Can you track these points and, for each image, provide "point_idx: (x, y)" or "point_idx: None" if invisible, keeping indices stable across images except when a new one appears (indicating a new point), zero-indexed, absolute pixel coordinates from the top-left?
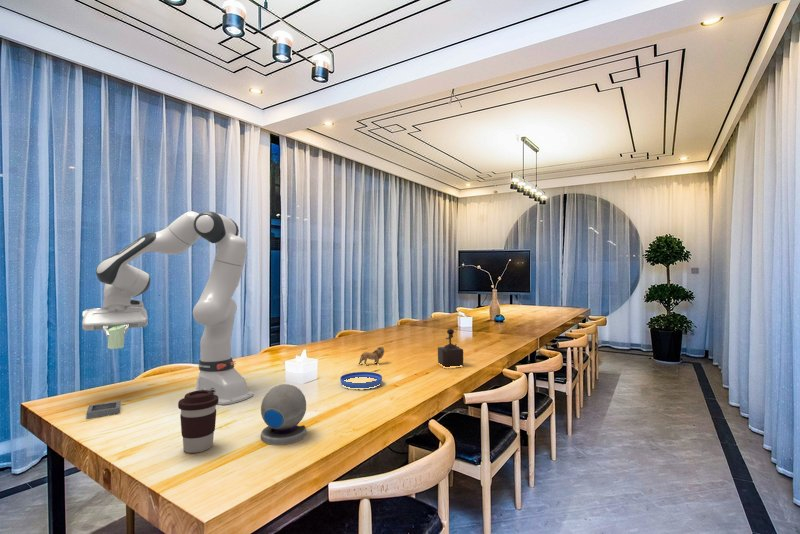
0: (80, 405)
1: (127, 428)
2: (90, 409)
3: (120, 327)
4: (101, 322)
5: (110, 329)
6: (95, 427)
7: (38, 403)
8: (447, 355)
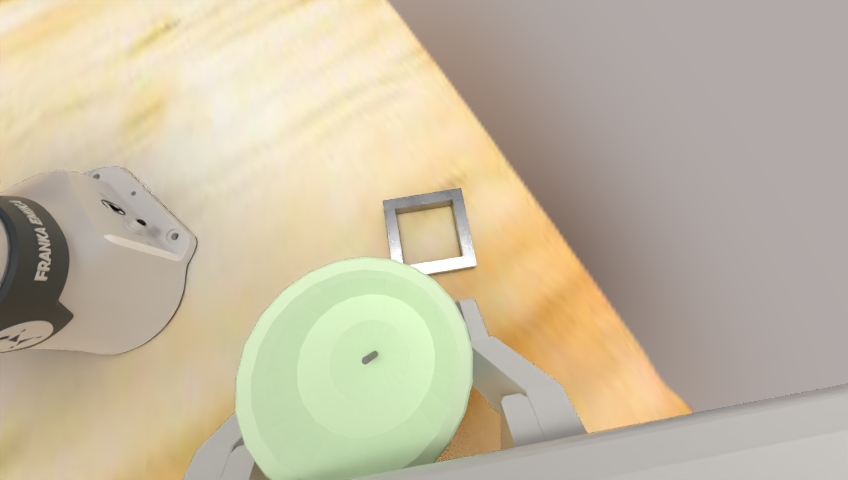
0: (520, 348)
1: (349, 90)
2: (459, 218)
3: (320, 424)
4: (661, 466)
5: (448, 360)
6: (419, 123)
7: None
8: None
